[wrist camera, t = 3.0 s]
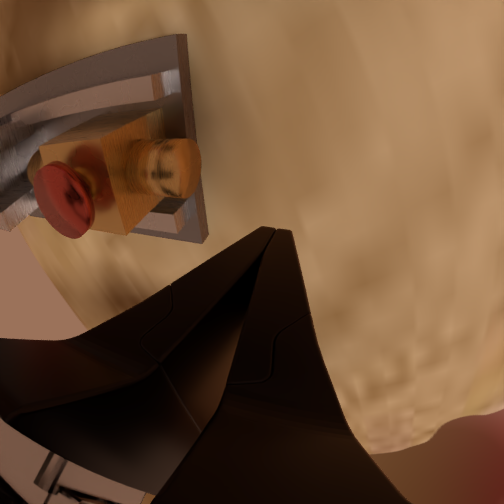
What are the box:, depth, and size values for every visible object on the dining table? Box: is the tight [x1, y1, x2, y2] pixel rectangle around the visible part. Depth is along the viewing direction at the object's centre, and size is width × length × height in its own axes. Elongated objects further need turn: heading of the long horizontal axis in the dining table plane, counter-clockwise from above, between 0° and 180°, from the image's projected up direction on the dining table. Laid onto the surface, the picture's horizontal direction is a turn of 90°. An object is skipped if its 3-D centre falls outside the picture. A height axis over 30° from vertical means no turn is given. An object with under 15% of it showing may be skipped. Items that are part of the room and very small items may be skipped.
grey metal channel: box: [0, 34, 209, 244], centre depth 16 cm, size 21×12×6 cm, turn 92°
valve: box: [27, 108, 201, 239], centre depth 13 cm, size 11×5×6 cm, turn 92°
